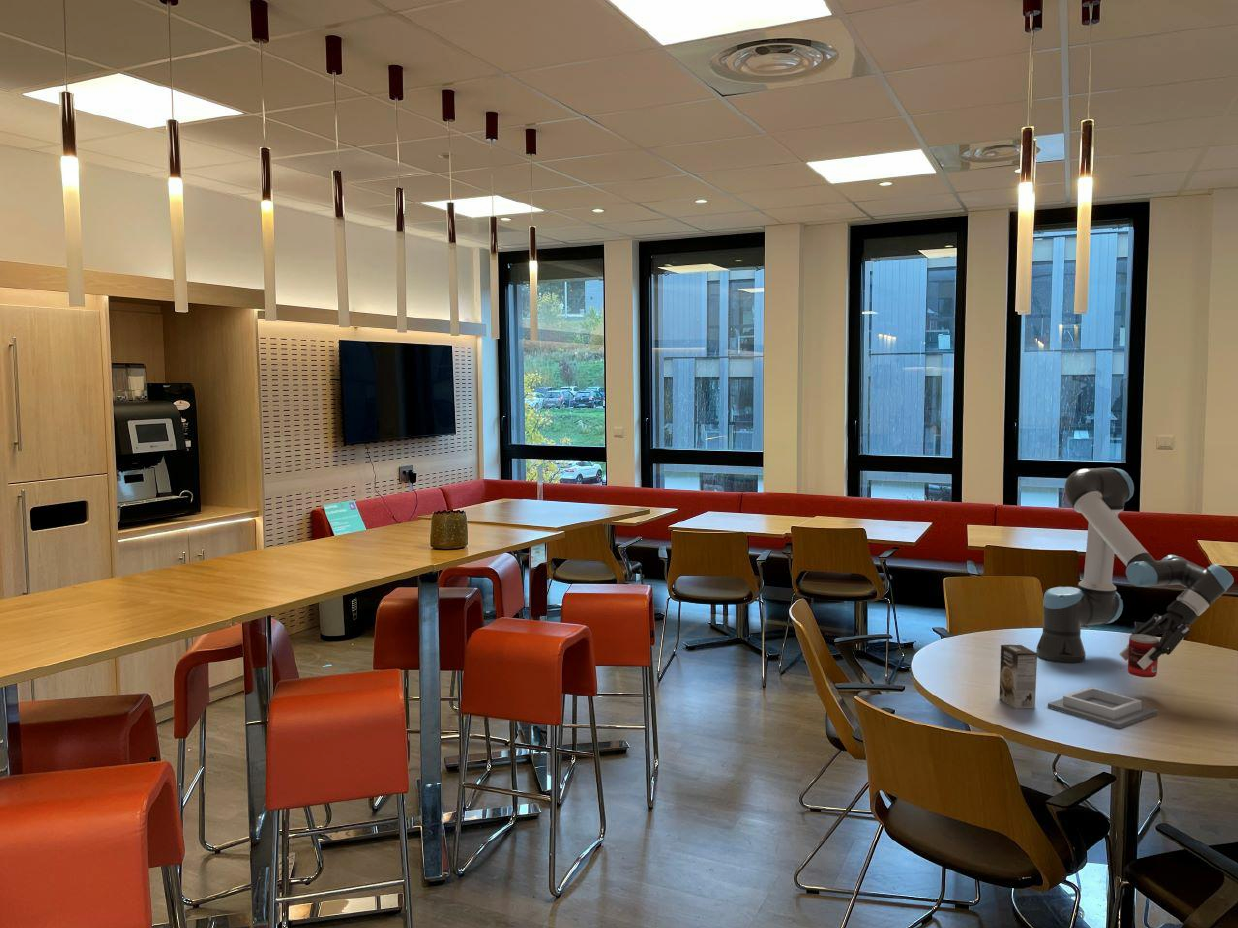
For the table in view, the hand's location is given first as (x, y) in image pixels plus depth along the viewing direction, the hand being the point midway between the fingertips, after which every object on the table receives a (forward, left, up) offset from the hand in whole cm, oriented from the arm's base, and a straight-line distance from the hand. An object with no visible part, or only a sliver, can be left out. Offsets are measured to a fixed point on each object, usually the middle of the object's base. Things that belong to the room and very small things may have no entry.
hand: (1131, 661), depth 269 cm
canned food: (+2, +3, -4) cm, 5 cm away
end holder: (+3, -22, -10) cm, 24 cm away
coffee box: (-14, -36, -10) cm, 40 cm away
